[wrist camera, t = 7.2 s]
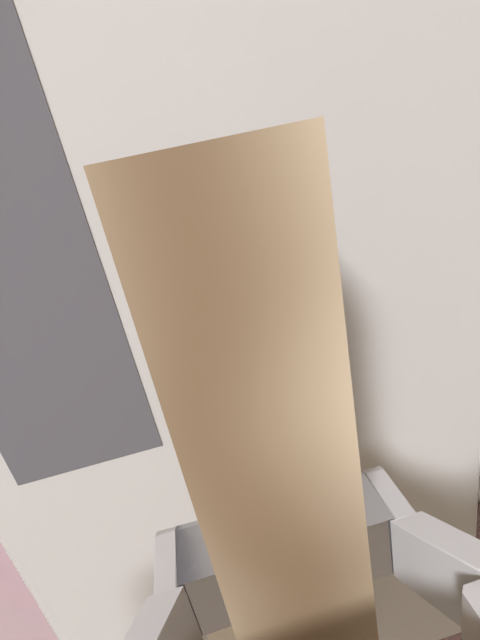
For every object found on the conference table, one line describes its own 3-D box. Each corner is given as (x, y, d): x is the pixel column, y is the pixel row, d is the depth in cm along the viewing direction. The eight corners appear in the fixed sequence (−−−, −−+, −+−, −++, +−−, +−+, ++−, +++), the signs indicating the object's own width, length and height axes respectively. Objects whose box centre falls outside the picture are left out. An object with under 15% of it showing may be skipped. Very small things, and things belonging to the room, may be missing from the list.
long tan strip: (255, 139, 9) (324, 116, 5) (339, 642, 15) (394, 790, 12) (118, 168, 8) (83, 166, 5) (264, 667, 15) (297, 828, 11)
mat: (511, -605, 8) (530, -647, 7) (467, 620, 22) (472, 629, 22) (-645, -568, 6) (-705, -623, 6) (125, 738, 20) (125, 750, 20)
